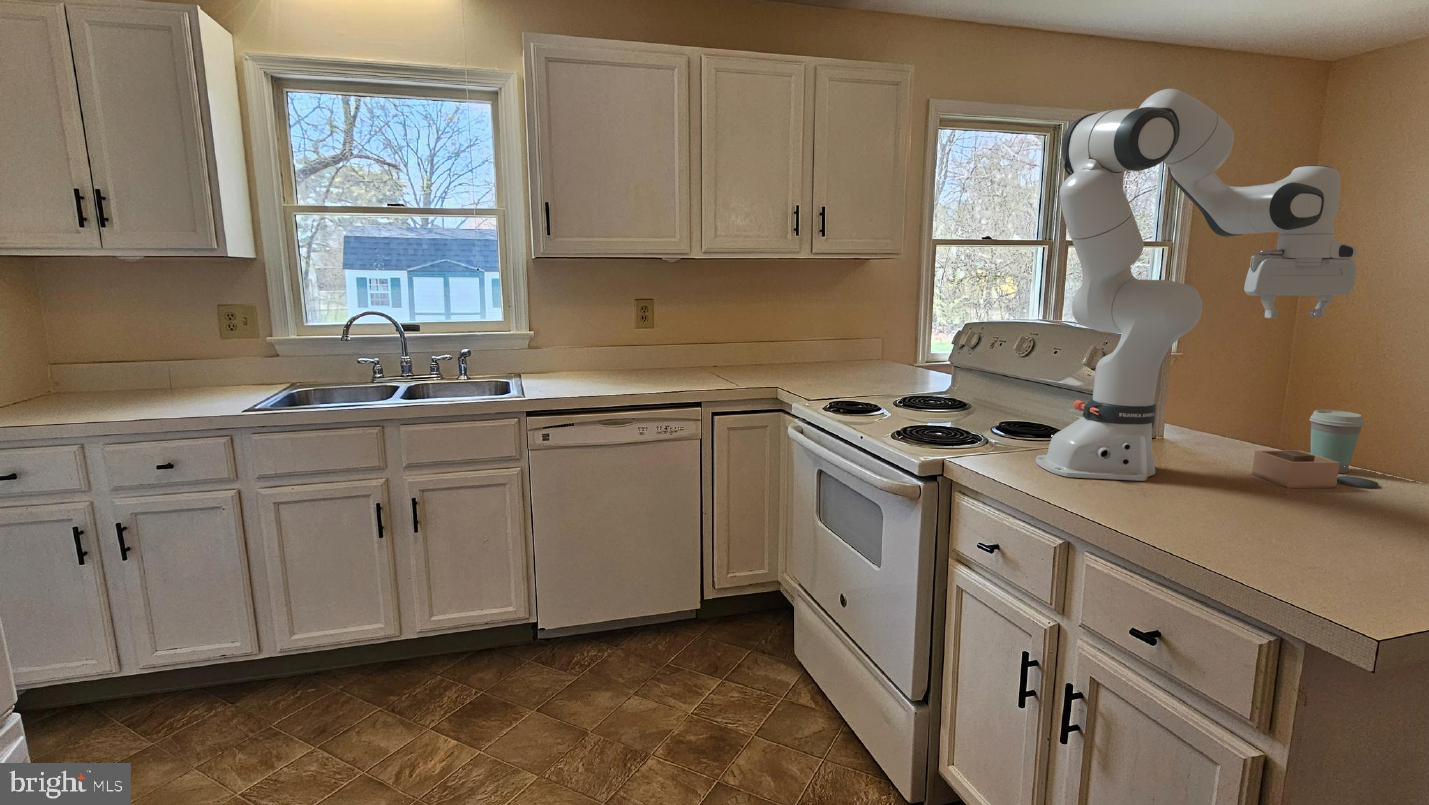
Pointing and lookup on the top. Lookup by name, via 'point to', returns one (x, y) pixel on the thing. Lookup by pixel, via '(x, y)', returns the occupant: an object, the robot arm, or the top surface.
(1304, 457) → the walnut block
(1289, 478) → the pink open square tray
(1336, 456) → the coffee cup
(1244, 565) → the top surface
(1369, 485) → the dark grey flat disc
